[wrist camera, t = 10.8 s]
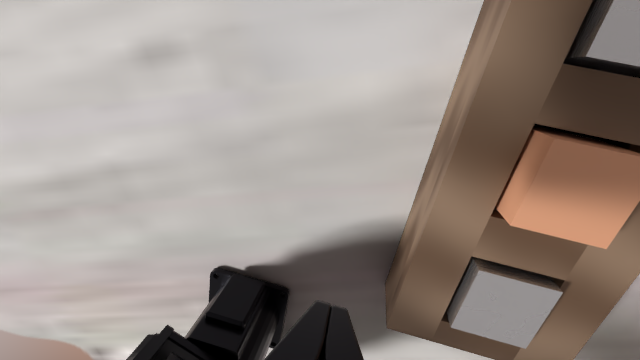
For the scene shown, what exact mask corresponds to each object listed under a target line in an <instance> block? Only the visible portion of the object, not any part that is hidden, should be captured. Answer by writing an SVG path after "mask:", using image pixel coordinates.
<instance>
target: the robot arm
mask: <svg viewBox="0 0 640 360" xmlns="http://www.w3.org/2000/svg"><path fill="white" fill-rule="evenodd" d="M217 274H218V275H219V276H218V275H217ZM282 293H284V294H282ZM289 294H290V292H289V290H288V289H287V288H285V287H283V286H279V285H276V284H272V283H269V282H265V281H262V280H258V279H255V278H251V277H248V276H244V275H241V274H237V273H234V272H230V271H227V270H223V269H220V268H215V269H214V270H213V271H212V272H211V274H210V290H209V304H208V305H207V307H206V308H205V309H204V311H203V312H202V314H201V315H200V316H199V318H198V319H197V321H196V322H195V324H194V325H193V326H192V328H191V329H190V331H189V332H188V333H187V335H186V336H185V338H184V337H183V336H181V335H180V334H178V333H177V332H175V331H174V329H173V328H172V327H170V326H169V325H167V326H166V327H165V328H164V329H163V330H162V331H161V333H160V334H157V333H156V334H155V335H147V336H146V338H145V339H144V340H143V341H142V342H141V343H140V345H139V346H138V347H137V348H136V349H135V350H134V352H133V353H132V354H131V355H130V356H129V357H128V358H127V359H126V360H364V359H363V356H362V353H361V350H360V347H359V344H358V341H357V338H356V335H355V332H354V329H353V326H352V323H351V320H350V317H349V314H348V311H347V309H346V308H343V307H340V306H336V305H332V306H331V305H330V304H329V303H326V302H322V301H319V300H317V301H315V302H314V303H313V304H312V306H311V307H310V308H309V309H308V310H307V311H306V312H305V314H304V315H303V316H302V317H301V318H300V319H299V320H298V322H297V323H296V324H295V325H294V326H293V327H292V328H291V330H290V331H289V332H288V333H287V334H286V335H285V336H284V337H283V339H282V340H281V336H282V331H283V325H284V320H285V315H286V310H287V305H288V299H289ZM269 347H270V348H274V349H273V350H272V351H271V352H270V353H269V355H268V356H267V357H266V358H265V356H266V353H267V351H268V348H269Z"/></svg>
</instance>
